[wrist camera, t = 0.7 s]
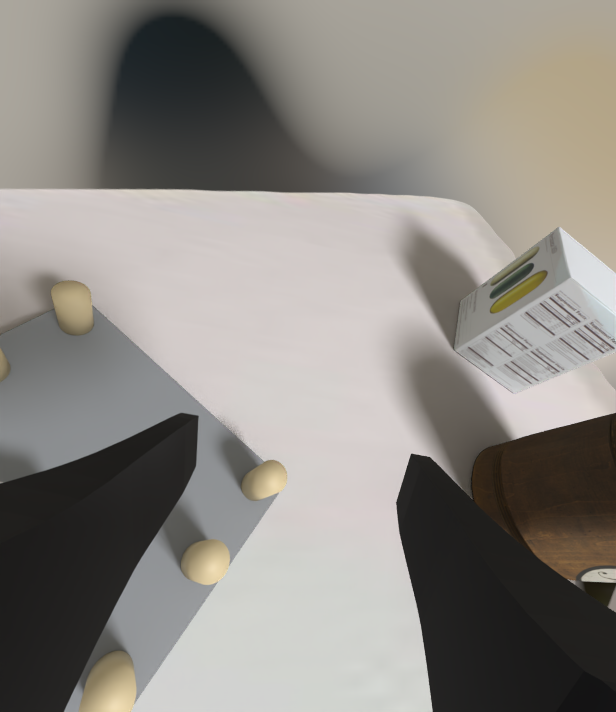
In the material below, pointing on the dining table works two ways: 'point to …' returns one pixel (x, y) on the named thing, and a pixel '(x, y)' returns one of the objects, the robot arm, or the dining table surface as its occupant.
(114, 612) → the board
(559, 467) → the wooden container
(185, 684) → the dining table surface
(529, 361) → the supplement box
